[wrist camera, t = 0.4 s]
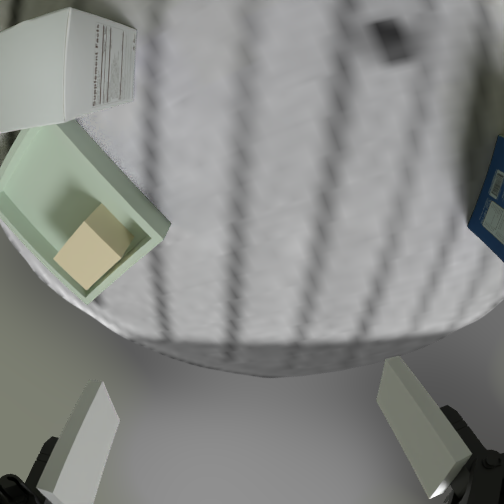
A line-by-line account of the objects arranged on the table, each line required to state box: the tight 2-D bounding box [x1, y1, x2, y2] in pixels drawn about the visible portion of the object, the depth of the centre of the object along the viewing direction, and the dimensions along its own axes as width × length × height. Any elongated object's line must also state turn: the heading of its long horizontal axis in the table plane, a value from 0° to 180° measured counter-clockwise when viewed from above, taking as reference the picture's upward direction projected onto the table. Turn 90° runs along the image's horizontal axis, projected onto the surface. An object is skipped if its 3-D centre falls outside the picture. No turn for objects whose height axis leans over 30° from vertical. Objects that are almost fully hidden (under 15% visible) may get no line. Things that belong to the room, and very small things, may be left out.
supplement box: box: [0, 7, 137, 134], centre depth 21 cm, size 9×9×15 cm
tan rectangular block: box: [53, 203, 134, 290], centre depth 35 cm, size 8×6×5 cm
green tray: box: [0, 119, 171, 305], centre depth 34 cm, size 17×22×4 cm
